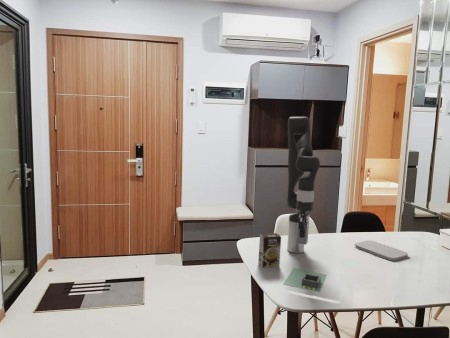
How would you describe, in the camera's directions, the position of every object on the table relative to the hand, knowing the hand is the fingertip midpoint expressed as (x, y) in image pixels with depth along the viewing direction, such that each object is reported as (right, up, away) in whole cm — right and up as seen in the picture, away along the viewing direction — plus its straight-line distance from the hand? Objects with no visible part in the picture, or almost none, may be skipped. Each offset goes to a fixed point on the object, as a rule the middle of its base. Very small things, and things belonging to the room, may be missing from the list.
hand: (302, 235), depth 167 cm
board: (0, -20, -3) cm, 20 cm away
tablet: (+53, -17, +39) cm, 68 cm away
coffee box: (-14, -18, +13) cm, 26 cm away
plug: (0, -3, 0) cm, 3 cm away
